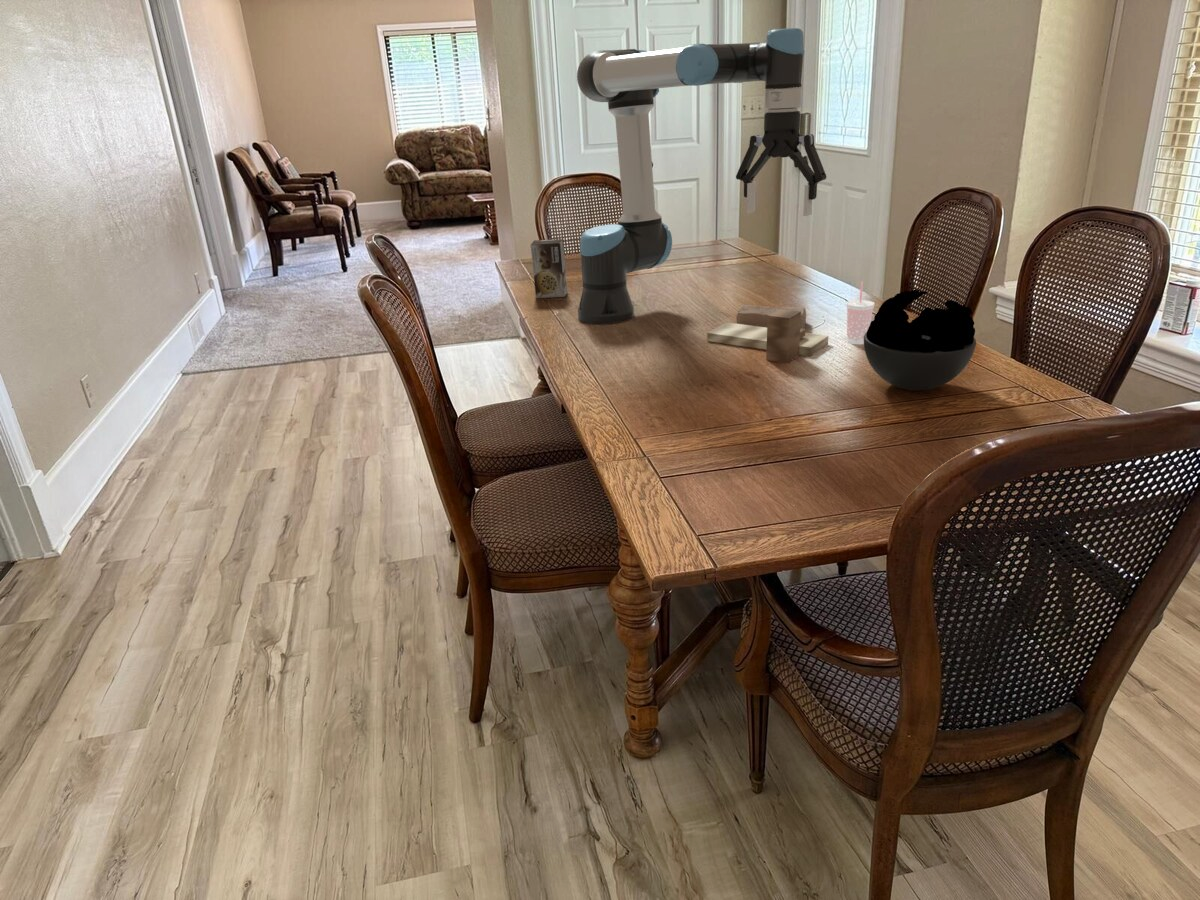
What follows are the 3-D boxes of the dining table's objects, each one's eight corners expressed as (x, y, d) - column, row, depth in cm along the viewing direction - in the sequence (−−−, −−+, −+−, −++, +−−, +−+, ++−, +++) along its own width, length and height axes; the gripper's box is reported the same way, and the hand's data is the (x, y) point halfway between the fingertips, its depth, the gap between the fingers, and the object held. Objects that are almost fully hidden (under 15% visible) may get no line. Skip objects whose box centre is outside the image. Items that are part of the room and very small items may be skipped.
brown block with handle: (766, 359, 176) (767, 315, 172) (790, 344, 186) (792, 301, 181) (787, 363, 173) (789, 318, 169) (811, 347, 183) (813, 303, 179)
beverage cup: (851, 336, 189) (856, 276, 183) (876, 340, 185) (881, 280, 179) (838, 342, 185) (842, 282, 179) (862, 347, 181) (867, 285, 175)
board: (707, 340, 191) (707, 332, 190) (727, 330, 198) (727, 322, 198) (810, 356, 177) (810, 347, 176) (827, 344, 184) (828, 335, 183)
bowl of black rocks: (848, 372, 166) (855, 282, 158) (946, 368, 165) (958, 277, 157) (875, 408, 148) (885, 308, 140) (986, 404, 147) (1002, 303, 139)
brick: (805, 322, 202) (806, 304, 200) (804, 332, 195) (804, 313, 193) (739, 321, 206) (739, 303, 204) (735, 330, 199) (735, 312, 197)
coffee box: (567, 292, 244) (564, 238, 238) (564, 297, 239) (561, 242, 232) (538, 293, 245) (533, 239, 239) (534, 298, 240) (530, 243, 233)
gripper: (721, 113, 174) (720, 213, 183) (832, 109, 160) (825, 218, 169) (738, 111, 179) (736, 209, 188) (846, 107, 165) (839, 213, 174)
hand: (778, 213), depth 179 cm, fingers open, 13 cm apart
